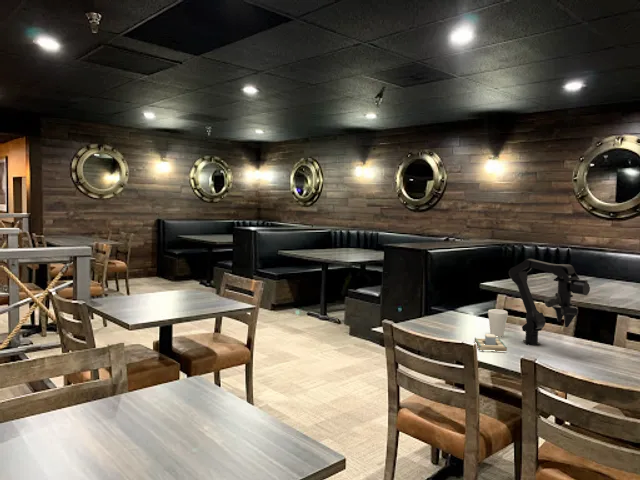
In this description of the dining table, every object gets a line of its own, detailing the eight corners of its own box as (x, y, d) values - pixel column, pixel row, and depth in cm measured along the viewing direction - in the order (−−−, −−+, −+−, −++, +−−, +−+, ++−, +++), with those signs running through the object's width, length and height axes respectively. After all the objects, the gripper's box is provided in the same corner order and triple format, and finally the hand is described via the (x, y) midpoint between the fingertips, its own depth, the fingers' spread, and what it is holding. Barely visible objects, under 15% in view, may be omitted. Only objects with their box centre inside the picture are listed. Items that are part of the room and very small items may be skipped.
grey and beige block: (484, 346, 236) (485, 333, 235) (493, 346, 236) (493, 334, 235) (486, 348, 232) (487, 336, 231) (495, 349, 231) (495, 336, 231)
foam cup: (510, 337, 251) (511, 312, 250) (496, 339, 247) (497, 314, 246) (497, 332, 260) (498, 308, 258) (483, 334, 256) (484, 310, 255)
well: (474, 342, 241) (474, 337, 241) (499, 343, 240) (499, 338, 240) (480, 351, 228) (480, 346, 227) (506, 352, 226) (506, 347, 226)
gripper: (539, 287, 235) (538, 318, 237) (553, 295, 217) (551, 329, 218) (563, 288, 234) (562, 319, 235) (579, 295, 216) (577, 330, 217)
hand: (562, 324), depth 227 cm, fingers open, 9 cm apart
